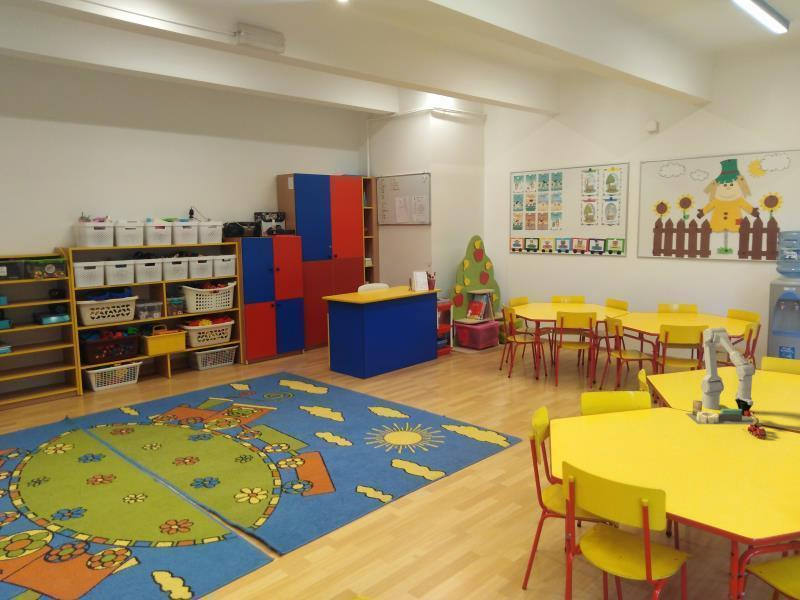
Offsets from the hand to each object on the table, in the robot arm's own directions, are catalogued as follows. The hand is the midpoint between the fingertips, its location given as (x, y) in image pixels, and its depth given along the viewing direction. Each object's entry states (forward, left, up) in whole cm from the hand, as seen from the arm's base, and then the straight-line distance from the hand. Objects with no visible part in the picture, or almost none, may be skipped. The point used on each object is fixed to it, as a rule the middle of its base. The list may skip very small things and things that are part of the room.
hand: (743, 414), depth 299 cm
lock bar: (0, -4, +1) cm, 4 cm away
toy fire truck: (+16, -2, -4) cm, 17 cm away
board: (-2, -9, -4) cm, 10 cm away
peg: (-8, -19, -3) cm, 21 cm away
